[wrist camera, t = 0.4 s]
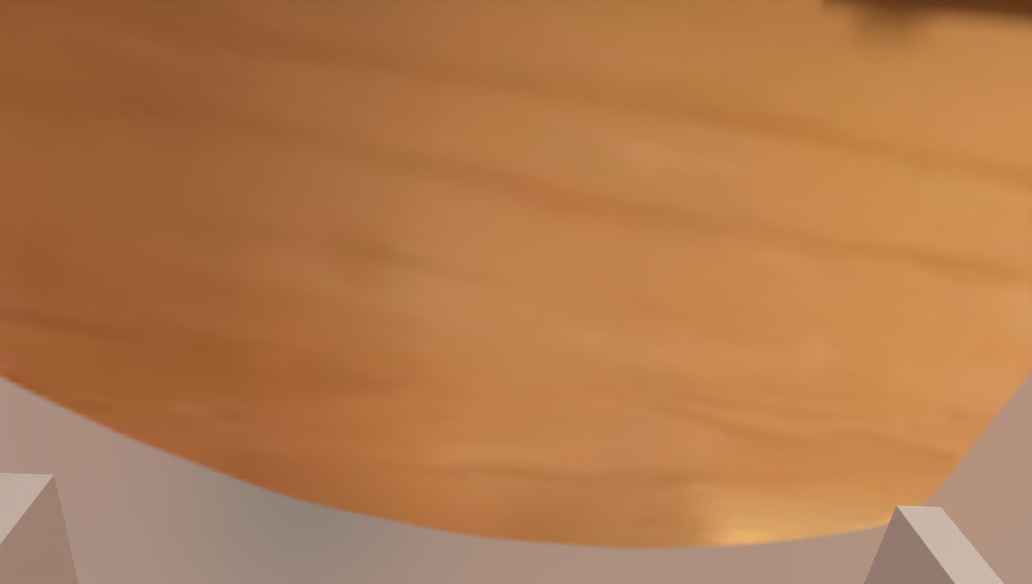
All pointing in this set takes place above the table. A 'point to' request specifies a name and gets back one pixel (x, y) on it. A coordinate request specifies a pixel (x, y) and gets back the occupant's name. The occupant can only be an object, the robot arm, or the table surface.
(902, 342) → the table surface
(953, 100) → the table surface
